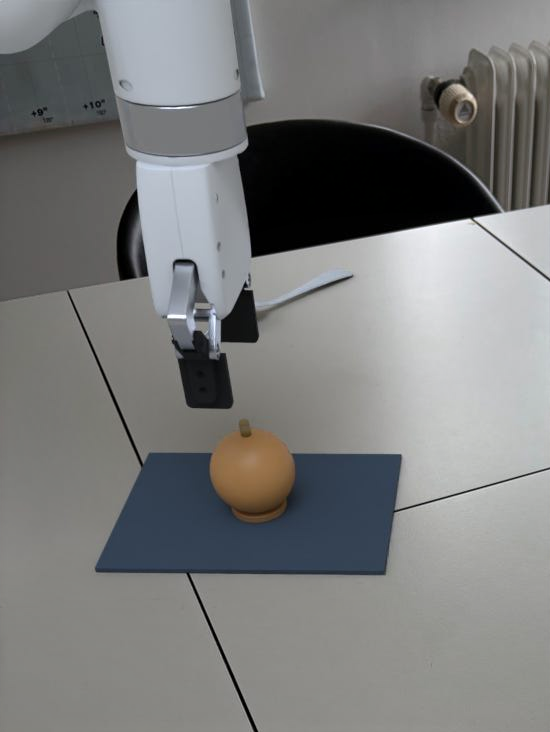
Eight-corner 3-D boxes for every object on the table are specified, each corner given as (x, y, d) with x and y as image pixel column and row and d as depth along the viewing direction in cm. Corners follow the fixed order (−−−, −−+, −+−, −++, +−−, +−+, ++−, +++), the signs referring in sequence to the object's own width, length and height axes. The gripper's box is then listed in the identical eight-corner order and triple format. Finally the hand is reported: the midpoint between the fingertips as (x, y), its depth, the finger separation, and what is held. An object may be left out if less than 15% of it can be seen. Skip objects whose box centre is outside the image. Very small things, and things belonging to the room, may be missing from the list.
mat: (95, 572, 79) (94, 568, 79) (150, 456, 91) (149, 452, 90) (384, 574, 78) (384, 570, 78) (401, 457, 90) (401, 453, 90)
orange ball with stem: (210, 531, 82) (190, 442, 76) (227, 483, 87) (209, 397, 81) (293, 532, 82) (279, 443, 76) (306, 484, 87) (293, 397, 81)
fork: (357, 296, 119) (357, 272, 117) (216, 345, 105) (213, 319, 104) (339, 290, 120) (339, 266, 118) (197, 338, 107) (194, 311, 105)
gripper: (158, 80, 71) (200, 317, 82) (80, 168, 58) (143, 434, 70) (268, 83, 71) (294, 320, 82) (214, 171, 58) (254, 437, 70)
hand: (225, 372), depth 76 cm, fingers open, 9 cm apart
